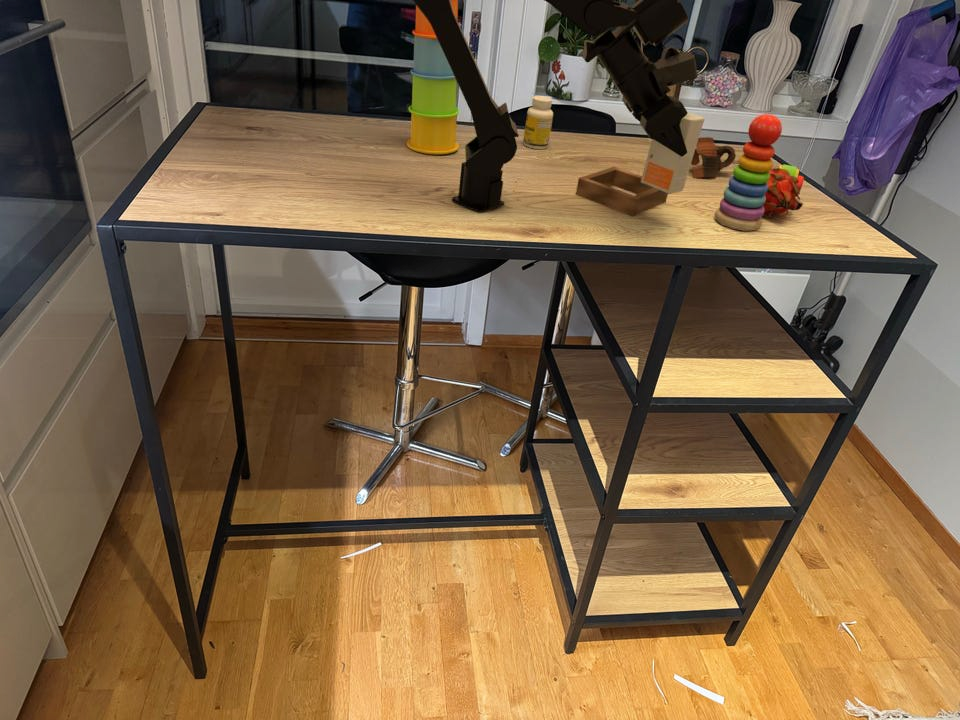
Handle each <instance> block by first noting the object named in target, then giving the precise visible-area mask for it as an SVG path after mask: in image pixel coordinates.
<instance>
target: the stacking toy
mask: <svg viewBox="0 0 960 720" xmlns="http://www.w3.org/2000/svg"><path fill="white" fill-rule="evenodd" d="M782 125H783V124H782V123H781V120H780V119H779V118H778V117H777V116H775V115H773V114H770V113H764V114H760V115H757V117H754V119H753V120H752V121H751V122H750V125H749V127H748V138H749V140H750V141H747V142H746V143H745V144H744V145H743V147H742V152H743V154H742V155H741V156H739V157H738V164H737V165H736V166H735V167H734V168H733V171H732V173H733V176H731V177H730V178H729V180H728V186H727V187H726V188H725V189H724V191H723V198H722V199H721V200H720V203H719V207H717V209H716V210H715V213H714V218H715V220H716V221H717V222H718V223H720V225H723V226H725V227H727V228H729V229H734V230H739V231H745V232H747V231H748V232H749V231H755V230H757V229H758V228H760V227H761V225H762V223H763V220H762V219H763V218H762V217H764V216H763V214H764V211H765V210H764V207H763V204H764V203H765V201H766V197H765V195H764V194H765V193H766V192H767V190H768V185H767V183H766V182H767V181H768V180H769V179H770V173H769V171H770V170H771V169H772V168H773V165H774V163H773V160H772V158H774V155H775V153H776V149H775V147H774V146H773V144H776V142H777V141H778V140H779V138H780V136H781V135H782V133H783V132H782V131H783V126H782Z"/></svg>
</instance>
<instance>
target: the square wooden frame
mask: <svg viewBox="0 0 960 720" xmlns="http://www.w3.org/2000/svg"><path fill="white" fill-rule="evenodd" d="M641 179H642V175H640V174H636V173H633V172H631V171H627V170H625V169H622V168H619V167H617V166H611V167H609V168H606V169H602V170H599V171H597V172H593V173H589V174H587V175H583V176H581V177H578V181H577V186H576V191H575V195H577V196H579V197H582V198H585V199H587V200H590V201H593V202H595V203H597V204H600V205H603V206H606V207H608V208H611V209H614V210H616V211H618V212H621V213H624V214H626V215H629V216H632V217H634V216H636V215H638V214H641V213H643V212H646V211H648V210H650V209H653V208H655V207H657V206H660V205H662V204H664V203H666V202H667V198H668V196H669V194H667V193H666V192H663V191H661V190H659V189H656V188H654V187H651V186H649V185H647V184H644V183H641ZM612 186H613V187H612ZM615 187H617V188H615ZM618 188H620V189H622V190H619V189H618ZM623 190H624V191H623ZM625 190H626V191H628V192H630V193H633V194H630V193H628V192H625ZM634 194H635V195H634Z"/></svg>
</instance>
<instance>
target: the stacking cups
mask: <svg viewBox="0 0 960 720" xmlns="http://www.w3.org/2000/svg"><path fill="white" fill-rule="evenodd" d="M451 5H452V8H453V11H454V13H455V16H456V18H457V19H458V15H459V14H458V11H459V0H451ZM412 34H413V36H414V44H413V68H412V69H410V74H411V75H412V92H411V95H412V96H411V98H412V99H411V100H412V101H411V105H409V106H408V111H409V113H411V117H410V139H408V140H407V141H406V145H407V147H408V148H409V149H411V151H414V152H417V153H421V154H426V155H447V154H449V155H450V154H452V153H455V152H457V151H458V150H459V147H460V146H459V144H458V142H457V141H456V139H457V136H456V135H457V116H458V115H459V114H460V110H459V108H458V107H457V93H458V91H457V90H458V83H457V81H456V78H455V76H454V74H453V72H452V70H451V67H450V65H449V63H448V61H447V59H446V57H445V54H444V52H443V50H442V48H441V46H440V43H439V41H438V39H437V37H436V35H435V33H434V30H433V28H432V26H431V24H430V22H429V21H428V20H427V18H426V17H425V16H424V14H423V13H422V12H421V10H420V9H419V8H418V7H417V5H416V4H415V29H413V30H412Z"/></svg>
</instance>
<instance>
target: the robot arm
mask: <svg viewBox="0 0 960 720" xmlns="http://www.w3.org/2000/svg"><path fill="white" fill-rule="evenodd" d="M412 1H413V3H414V4H415V6H416V5H417V7H418V8H419V9H420V10H421V12H422V13H423V14H424V16H425V17H426V18H427V20H428V21H429V22H430V24H431V26H432V28H433V30H434V33H435V35H436V37H437V39H438V41H439V43H440V46H441V48H442V50H443V52H444V54H445V57H446V59H447V61H448V63H449V65H450V67H451V70H452V72H453V74H454V76H455V78H456V81H457V86H458V88H459V89H460V91H461V94H462V96H463V98H464V100H465V102H466V105H467V106H468V108H469V111H470V113H471V118H472V123H473V127H474V131H475V134H476V135H475V137H474V138H473V139H471V140H470V141H468V143H466V144H465V147H464V149H465V161H464V162H461V168H460V176H459V185H458V186H459V187H458V188H459V189H458V195H455V196H452V197H451V201H452V202H454V203H457V204H459V205H461V206H462V207H463V206H464V207H465V208H468V209H470V210H473V211H474V212H478V213H483V212H487V211H490V210H493V209H496V208H498V207H502V206H504V205H505V201H504V200H502V193H503V185H504V180H502V177H503V174H504V173H503V172H504V171H503V170H502V169H503V167H504V165H505V164H507V163H509V162H510V161H512V159H513V158H514V157H515V155H516V153H517V150H518V144H517V139H516V138H519V137H520V136H519V132H518V128H517V124H516V123H515V122H514V120H513V119H512V118H511V116H510V112H509V108H508V105H507V102H503V103H502V104H501V105H500V106H499V105H498V104H497V102H495V100H494V98H492V96H491V94H490V92H489V88H488V87H487V84H486V82H485V80H484V78H483V76H482V72H481V71H480V69H479V66H478V64H477V62H476V60H475V56H474V55H473V53H472V50H471V48H470V46H469V44H468V41H467V39H466V36H465V34H464V32H463V29H462V28H461V26H460V25H461V24H460V23H459V21H458V17H457V18H456V16H455V13H454V11H453V8H452V5H451V0H412ZM543 1H544V2H547V3H548V4H550V5H551V6H552V7H553V8H554V9H556V10H557V11H558V12H559V13H560V14H562V16H564V17H565V18H566V19H568V20H569V21H570V22H571V23H572V24H573V25H575V26H576V27H577V28H578V29H579V30H581V31H582V32H583V33H584V34H586V35H588V36H592V37H594V36H595V37H596V38H595V39H594V40H589V39H585V40H583V41H584V42H583V44H584V47H583V51H582V54H581V57H582V59H583V60H584V61H585V63H590V62H591V61H592V60H594V58H596V57H597V58H598V60H599V61H600V63H601V64H602V66H603V67H604V69H605V71H606V72H607V73H608V75H609V76H610V78H611V80H612V82H613V83H614V85H615V88H617V89H618V90H619V92H620V94H621V95H622V99H621V101H622V102H623V104H624V106H625V107H626V108H627V110H628V111H629V113H631V115H632V116H633V117H634V119H636V120H637V121H638V122H639V124H640V126H641V128H642V129H643V131H644V132H645V134H646V135H647V136H648V139H650V140H652V139H654V140H655V141H657V142H659V143H660V144H662V145H664V146H665V147H667V148H668V149H670V150H672V151H673V152H675V153H676V154H678V155H679V156H681V157H682V156H684V155H685V154H687V149H686V146H685V142H684V139H683V136H682V132H681V129H680V122H681V120H682V118H684V117H685V116H686V115H687V113H689V112H688V111H687V109H686V108H685V106H684V104H683V102H682V101H680V99H679V98H677V97H676V96H673V95H672V96H670V95H668V94H669V93H670V92H671V89H670V87H672V86H675V85H678V84H681V83H683V82H684V83H685V82H687V81H689V82H690V81H691V82H692V81H695V80H696V79H697V78H698V77H699V75H698V69H697V63H696V56H695V55H694V54H692V53H691V52H689V51H685V50H683V51H681V52H679V50H677V48H676V47H674V46H669V47H667V48H664V49H663V51H662V54H661V58H659V59H658V60H657V61H656V62H653V61H651V60H650V58H649V57H647V56H646V55H645V54H644V51H643V50H642V48H641V47H640V45H639V43H638V42H637V40H636V39H635V36H634V35H633V34H632V32H631V30H632V29H633V30H634V32H635V34H636V35H637V37H638V39H639V40H640V42H641V43H642V44H643V45H644V46H646V45H648V44H650V45H652V46H654V47H657V45H659V44H660V43H662V42H663V41H664V40H665V39H667V38H668V37H669V36H671V35H672V34H673V33H674V32H676V31H677V30H678V29H680V28H681V27H683V26H684V25H685V24H686V23H688V22H689V17H688V15H687V12H686V10H685V8H684V6H683V5H682V3H681V2H680V1H679V0H637V1H636V2H635V3H633V4H632V5H631V6H630V5H628V4H626V2H618V1H615V0H543ZM610 28H616V29H614V30H611V29H610ZM597 36H598V37H597Z"/></svg>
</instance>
